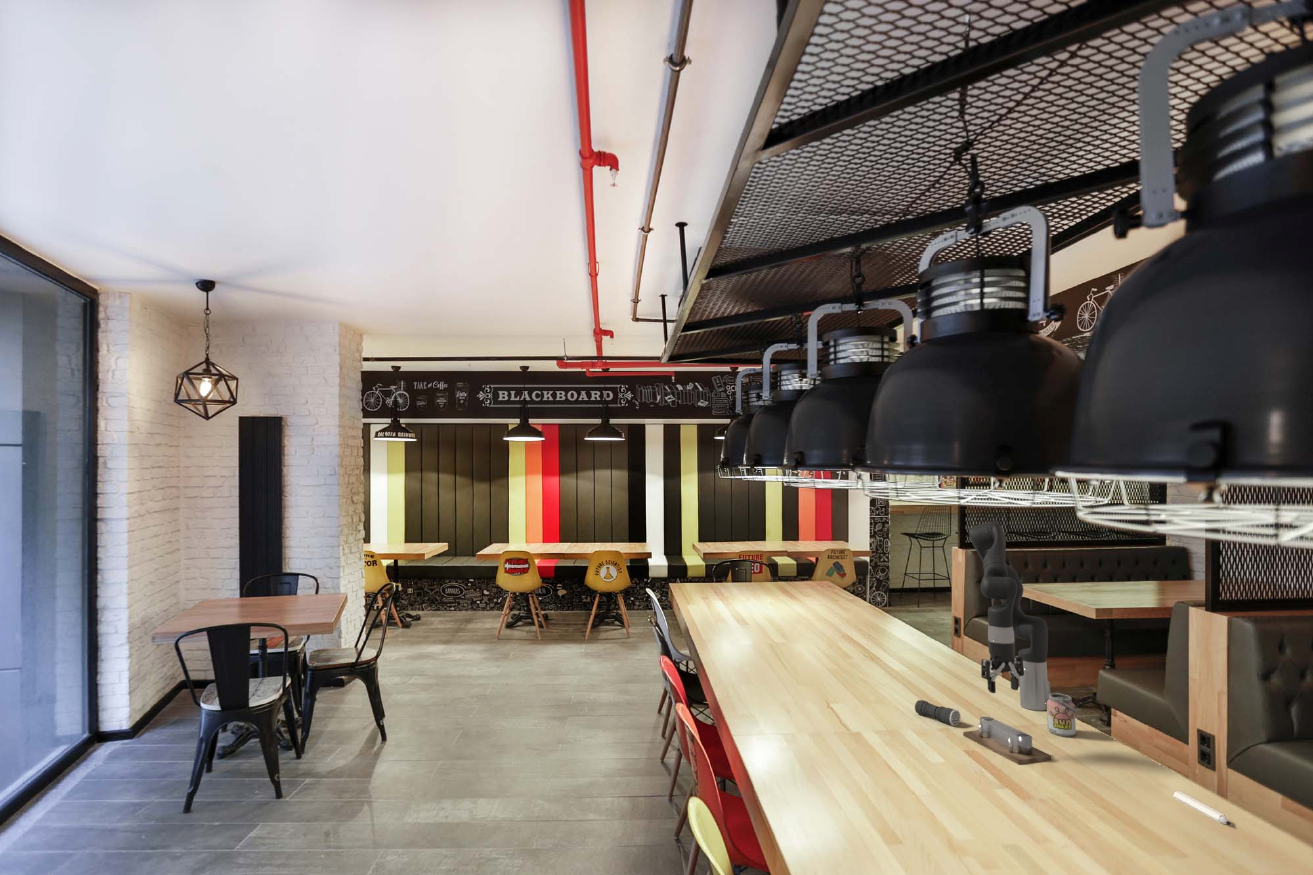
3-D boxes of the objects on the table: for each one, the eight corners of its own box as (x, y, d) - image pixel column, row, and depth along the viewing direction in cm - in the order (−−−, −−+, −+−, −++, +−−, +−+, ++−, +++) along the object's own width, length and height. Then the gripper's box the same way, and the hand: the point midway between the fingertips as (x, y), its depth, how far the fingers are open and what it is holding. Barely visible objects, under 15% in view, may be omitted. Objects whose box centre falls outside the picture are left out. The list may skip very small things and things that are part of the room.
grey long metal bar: (988, 731, 231) (987, 715, 231) (1035, 754, 212) (1034, 737, 212) (977, 732, 230) (977, 717, 230) (1024, 755, 211) (1023, 739, 211)
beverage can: (1078, 730, 234) (1076, 694, 234) (1081, 739, 226) (1079, 701, 227) (1046, 726, 238) (1045, 691, 238) (1049, 735, 230) (1047, 698, 231)
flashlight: (913, 715, 252) (912, 699, 252) (923, 712, 254) (922, 697, 255) (951, 727, 239) (950, 711, 239) (960, 724, 241) (960, 708, 242)
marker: (1232, 832, 169) (1176, 801, 185) (1239, 827, 169) (1182, 796, 185) (1227, 823, 169) (1171, 793, 185) (1234, 818, 169) (1177, 788, 185)
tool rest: (993, 731, 234) (992, 715, 234) (1051, 759, 211) (1050, 741, 211) (963, 735, 231) (962, 719, 231) (1018, 764, 208) (1017, 746, 208)
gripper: (1010, 635, 228) (1013, 685, 227) (974, 638, 224) (976, 689, 223) (1028, 640, 221) (1030, 692, 220) (991, 644, 217) (993, 697, 216)
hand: (1003, 691), depth 222 cm, fingers open, 8 cm apart
